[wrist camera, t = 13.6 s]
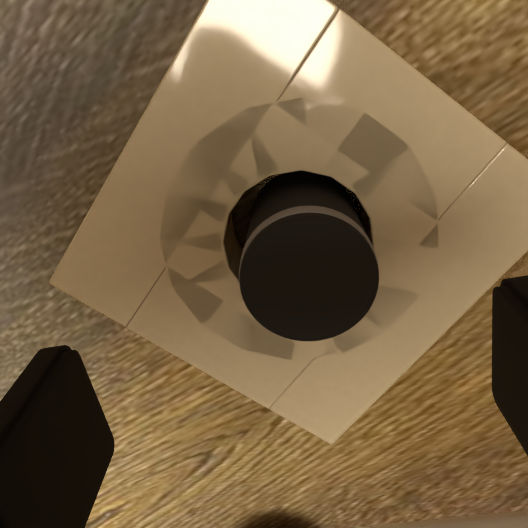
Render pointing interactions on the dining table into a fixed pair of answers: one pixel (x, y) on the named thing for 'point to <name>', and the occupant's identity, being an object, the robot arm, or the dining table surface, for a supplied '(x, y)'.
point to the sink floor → (290, 160)
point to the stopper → (307, 259)
